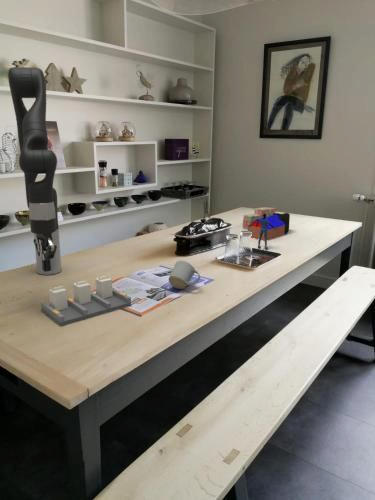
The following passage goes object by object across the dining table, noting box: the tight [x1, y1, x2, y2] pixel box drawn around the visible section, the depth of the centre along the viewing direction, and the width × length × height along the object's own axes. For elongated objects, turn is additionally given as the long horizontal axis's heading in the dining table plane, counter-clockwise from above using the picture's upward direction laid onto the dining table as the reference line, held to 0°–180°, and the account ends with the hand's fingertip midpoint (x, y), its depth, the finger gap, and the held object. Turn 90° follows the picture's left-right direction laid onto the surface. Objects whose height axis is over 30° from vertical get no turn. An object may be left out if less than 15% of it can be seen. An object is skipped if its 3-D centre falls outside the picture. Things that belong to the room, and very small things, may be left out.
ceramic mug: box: [168, 260, 201, 290], centre depth 149 cm, size 11×8×8 cm
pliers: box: [202, 197, 211, 220], centre depth 238 cm, size 10×1×20 cm, turn 144°
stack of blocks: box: [242, 206, 277, 231], centre depth 249 cm, size 21×6×12 cm, turn 127°
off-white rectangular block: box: [72, 280, 92, 305], centre depth 133 cm, size 4×4×7 cm
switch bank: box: [40, 287, 132, 327], centre depth 132 cm, size 14×24×3 cm, turn 131°
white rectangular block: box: [94, 275, 113, 299], centre depth 139 cm, size 4×4×7 cm
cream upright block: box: [48, 285, 68, 311], centre depth 128 cm, size 4×4×7 cm
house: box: [247, 215, 286, 242], centre depth 228 cm, size 12×20×12 cm, turn 137°
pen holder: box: [273, 212, 291, 234], centre depth 237 cm, size 9×9×10 cm
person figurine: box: [256, 214, 276, 251], centre depth 202 cm, size 11×4×18 cm, turn 52°
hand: (46, 270), depth 131 cm, fingers closed
